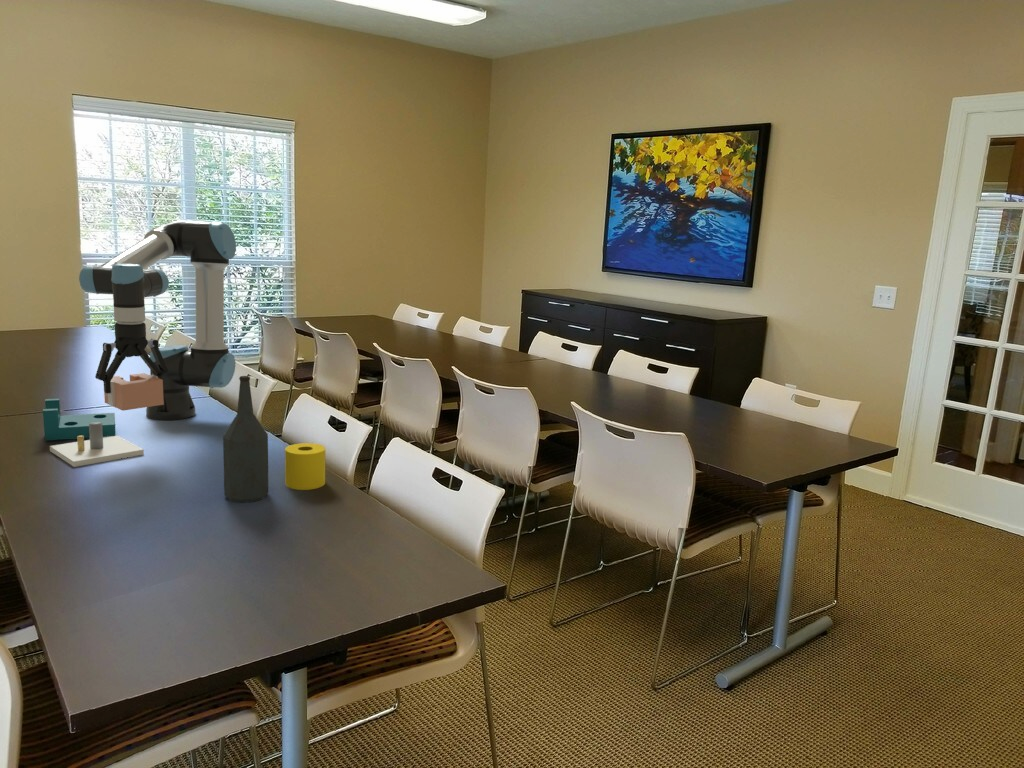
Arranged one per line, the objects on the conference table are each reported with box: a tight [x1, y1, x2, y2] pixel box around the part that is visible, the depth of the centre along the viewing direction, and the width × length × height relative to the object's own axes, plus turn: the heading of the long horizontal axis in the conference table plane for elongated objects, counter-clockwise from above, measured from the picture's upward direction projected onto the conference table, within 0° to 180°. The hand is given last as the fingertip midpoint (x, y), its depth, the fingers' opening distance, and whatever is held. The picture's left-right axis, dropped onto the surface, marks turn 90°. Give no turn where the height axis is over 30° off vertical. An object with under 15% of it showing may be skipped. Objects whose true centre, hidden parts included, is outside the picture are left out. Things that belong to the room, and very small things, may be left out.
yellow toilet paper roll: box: [284, 442, 326, 491], centre depth 198 cm, size 10×10×9 cm
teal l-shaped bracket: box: [42, 398, 116, 441], centre depth 228 cm, size 18×11×10 cm, turn 117°
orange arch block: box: [103, 372, 164, 412], centre depth 210 cm, size 11×11×7 cm
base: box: [49, 422, 145, 468], centre depth 213 cm, size 18×18×8 cm
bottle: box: [222, 375, 269, 503], centre depth 185 cm, size 10×10×30 cm
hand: (134, 401), depth 210 cm, fingers closed on orange arch block, 11 cm apart
